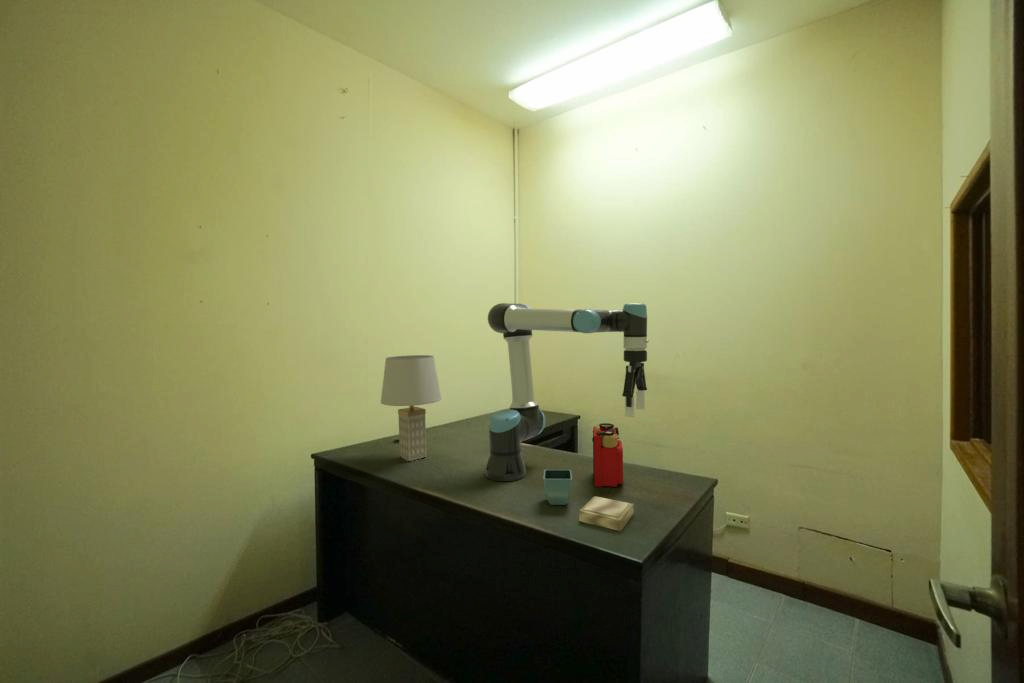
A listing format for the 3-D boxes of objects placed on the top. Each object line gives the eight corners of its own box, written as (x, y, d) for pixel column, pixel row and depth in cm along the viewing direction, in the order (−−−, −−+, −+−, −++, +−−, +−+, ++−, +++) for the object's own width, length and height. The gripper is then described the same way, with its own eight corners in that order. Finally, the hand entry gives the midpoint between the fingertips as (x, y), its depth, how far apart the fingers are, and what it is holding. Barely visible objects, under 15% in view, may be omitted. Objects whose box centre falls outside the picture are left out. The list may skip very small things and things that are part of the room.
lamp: (372, 458, 185) (368, 357, 183) (423, 446, 202) (420, 354, 200) (400, 472, 166) (397, 360, 165) (454, 457, 183) (451, 356, 182)
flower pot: (544, 496, 140) (544, 469, 140) (571, 496, 139) (571, 469, 139) (543, 507, 131) (543, 478, 131) (572, 508, 131) (572, 479, 130)
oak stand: (579, 521, 122) (579, 509, 122) (594, 505, 132) (594, 495, 132) (620, 531, 116) (620, 519, 115) (633, 514, 126) (633, 502, 126)
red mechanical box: (623, 489, 145) (622, 430, 144) (592, 487, 147) (592, 429, 146) (621, 473, 160) (620, 420, 160) (593, 471, 162) (592, 419, 162)
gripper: (636, 352, 131) (636, 421, 132) (655, 347, 152) (655, 407, 153) (612, 351, 134) (612, 418, 135) (633, 347, 156) (633, 405, 157)
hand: (635, 412), depth 144 cm, fingers open, 13 cm apart
